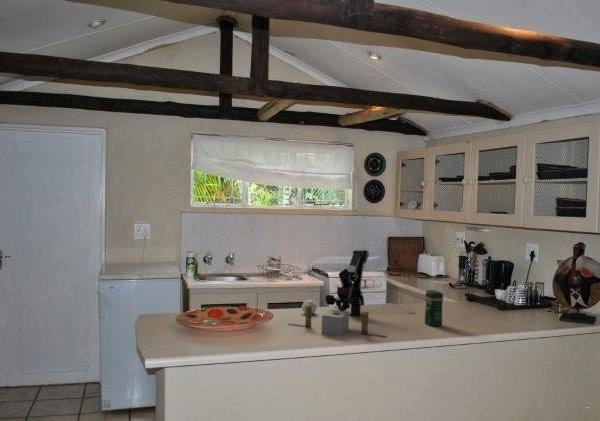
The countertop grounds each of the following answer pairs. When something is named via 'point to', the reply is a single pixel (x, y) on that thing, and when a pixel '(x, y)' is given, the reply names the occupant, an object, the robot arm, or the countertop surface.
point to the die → (309, 302)
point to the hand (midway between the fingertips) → (339, 314)
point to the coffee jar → (433, 308)
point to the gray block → (335, 322)
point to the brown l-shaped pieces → (364, 321)
